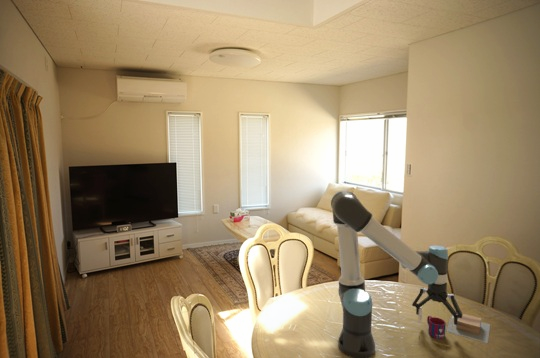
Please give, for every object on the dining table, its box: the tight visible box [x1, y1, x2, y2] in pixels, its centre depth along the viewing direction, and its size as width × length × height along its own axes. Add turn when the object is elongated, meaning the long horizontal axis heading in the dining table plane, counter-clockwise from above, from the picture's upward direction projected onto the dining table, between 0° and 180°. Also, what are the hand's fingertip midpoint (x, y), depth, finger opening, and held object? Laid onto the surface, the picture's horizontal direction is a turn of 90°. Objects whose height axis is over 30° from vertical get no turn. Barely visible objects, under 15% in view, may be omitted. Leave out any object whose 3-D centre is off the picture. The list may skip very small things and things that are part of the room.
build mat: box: [445, 314, 491, 344], centre depth 157 cm, size 18×16×1 cm
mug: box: [426, 315, 447, 340], centre depth 154 cm, size 7×10×7 cm
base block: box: [456, 312, 482, 335], centre depth 157 cm, size 9×9×4 cm
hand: (436, 326), depth 153 cm, fingers open, 13 cm apart
